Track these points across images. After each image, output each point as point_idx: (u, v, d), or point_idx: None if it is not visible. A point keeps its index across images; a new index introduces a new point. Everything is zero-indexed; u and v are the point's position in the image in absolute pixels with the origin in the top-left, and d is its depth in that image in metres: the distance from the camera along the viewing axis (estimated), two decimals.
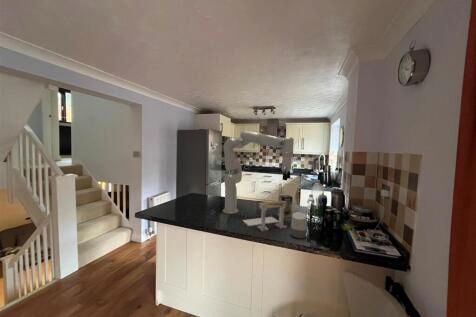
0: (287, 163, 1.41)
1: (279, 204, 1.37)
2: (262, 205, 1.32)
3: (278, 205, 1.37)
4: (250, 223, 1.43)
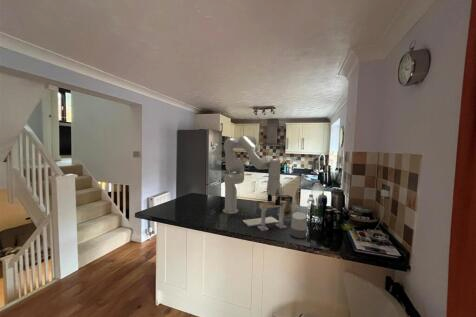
0: (279, 187, 1.32)
1: None
2: (262, 205, 1.32)
3: (278, 205, 1.37)
4: (250, 223, 1.43)
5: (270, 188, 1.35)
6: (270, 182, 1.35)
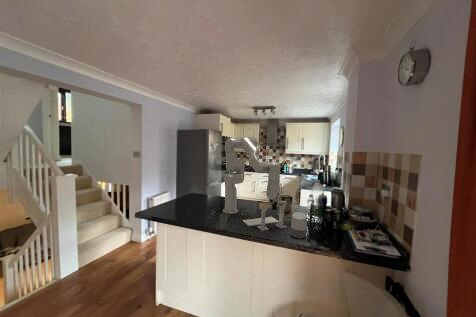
0: (279, 191, 1.32)
1: (279, 204, 1.37)
2: (262, 205, 1.32)
3: (278, 205, 1.37)
4: (250, 223, 1.43)
5: (270, 192, 1.35)
6: (270, 186, 1.35)
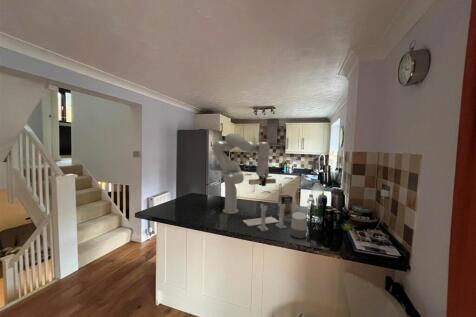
0: (267, 168, 1.42)
1: (268, 181, 1.47)
2: (252, 181, 1.42)
3: (267, 182, 1.46)
4: (250, 223, 1.43)
5: (259, 169, 1.45)
6: (259, 164, 1.45)
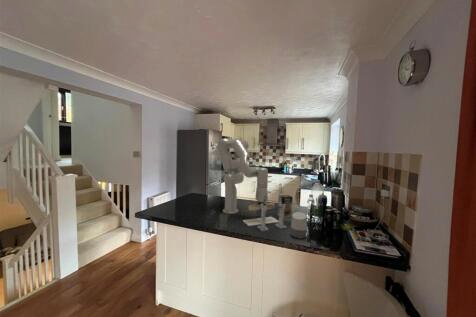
0: (266, 194, 1.43)
1: (267, 206, 1.48)
2: (251, 207, 1.43)
3: None
4: (250, 223, 1.43)
5: (258, 195, 1.46)
6: (258, 189, 1.46)
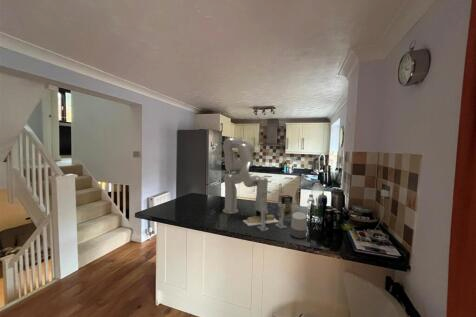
0: (266, 204, 1.44)
1: (267, 218, 1.48)
2: (250, 219, 1.44)
3: (266, 219, 1.48)
4: (250, 223, 1.43)
5: (258, 205, 1.46)
6: (258, 199, 1.46)
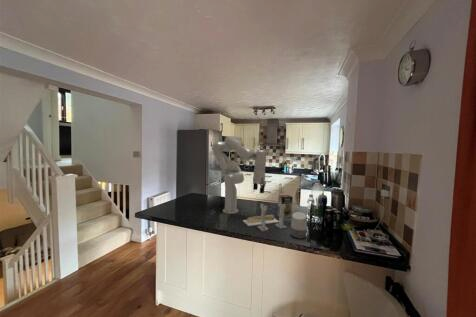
0: (264, 176, 1.43)
1: (267, 218, 1.48)
2: (250, 219, 1.44)
3: (266, 219, 1.48)
4: (250, 223, 1.43)
5: (256, 177, 1.46)
6: (256, 171, 1.46)
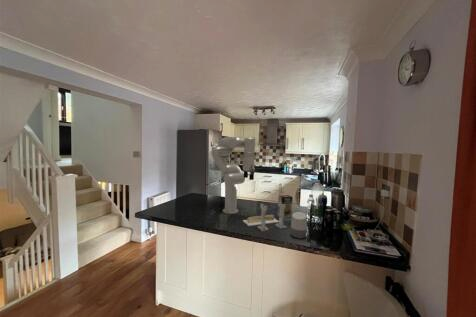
0: (253, 163, 1.44)
1: (267, 218, 1.48)
2: (250, 219, 1.44)
3: (266, 219, 1.48)
4: (250, 223, 1.43)
5: (245, 164, 1.47)
6: (245, 159, 1.47)
